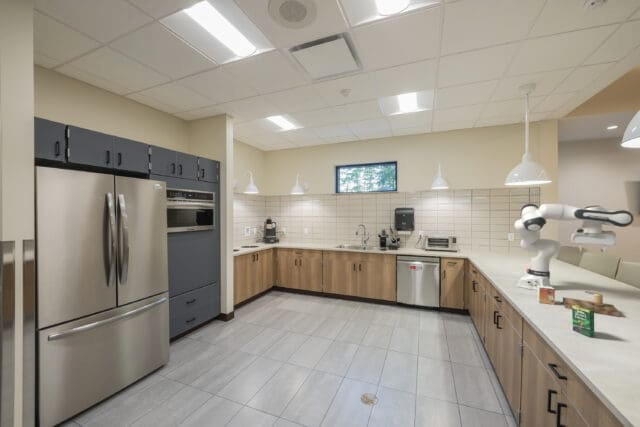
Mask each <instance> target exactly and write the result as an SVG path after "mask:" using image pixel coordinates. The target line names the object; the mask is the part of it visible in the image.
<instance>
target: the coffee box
mask: <svg viewBox="0 0 640 427" xmlns="http://www.w3.org/2000/svg"><path fill="white" fill-rule="evenodd" d="M571 311H572V313H571V314H572V331H574V332H576V333H579V334H581V335H584V336H586V337H588V338H595V313H594V310H591V309H588V308H584V307H581V306H578V305H572V309H571Z"/></svg>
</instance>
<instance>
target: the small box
mask: <svg viewBox="0 0 640 427" xmlns="http://www.w3.org/2000/svg"><path fill="white" fill-rule="evenodd" d="M555 291H556V289H555V288H554V287H552V286H551V287H548V286H539V285H537V290H536V301H537V303H538V304H545V305H552V306H555V305H556V304H555V303H556V302H555V301H556V299H555V296H556V295H555V293H556V292H555Z"/></svg>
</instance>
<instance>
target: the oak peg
mask: <svg viewBox="0 0 640 427" xmlns="http://www.w3.org/2000/svg"><path fill="white" fill-rule="evenodd" d="M603 296H604V295H603V294H601V293H594V294H593V302H594V306H600V307H603V300H604V297H603Z"/></svg>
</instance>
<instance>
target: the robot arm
mask: <svg viewBox="0 0 640 427" xmlns="http://www.w3.org/2000/svg"><path fill="white" fill-rule="evenodd" d="M520 217H521V218H520V219H518V220H516V221H515V222H514V228H515V231H516V233H517V234H518V235H519V236H520V238H522V239H521V241H520V243H519V245H520V248H521V249H522V250H525V251H527V252H532V253H538V254H537V256H535V257H532V258H531V259H530V262H529V263H530V264H529V265H530V268H526V273H524V274H523V275H520V276H519V277H518V280H517V281H516V282H514V286H515V287H518V288H523V289H527V290H528V289H529V290H534V291H537V285H539V286H548V287H552V286H551V281H550V278H551V272H550V261H551V259H552V258H553V256H556V255H557V254H559V253H560V252H561V250H562V245H561V243H560V242H559V241H557V240H553V239H548V238H541V233H540V232H539V231H540V230H541V229H543V227H544V226H545V225H546V224H547V220H554V221H570V222H571V221H582V225H581V226H582V227H578V228H577V227H576V228H573V229H572V233H571V234H570V239H569V242H570V243H571V244H577V246H578V247H579V251H580V252H581V251H582V252H583V251H584V247H582V245H596V246H597V245H599V246H603V247H602V248H601V249H600V253H605V251H606V249H607V248H608V246H615V245H616V244H617V243H616V236H617V233H616V232H615V231H612V230H603V225H605V226H611V227H620V228H625V227H629V226H631V225H632V224H633V222H634V218H635V217H634V214H632V212H630V211H628V210H624V209H623V210H621V209H620V210H611V209H607V208H605V207H602V206H601V205H589V206H586V207H584V208H583V207H578V206H575V205H570V204H565V203H564V204H563V203H562V204H561V203H542V204H541V205H540V206H538V205H537V204H535V203H527V204H524V205H523V206H522V207H521V210H520Z"/></svg>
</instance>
